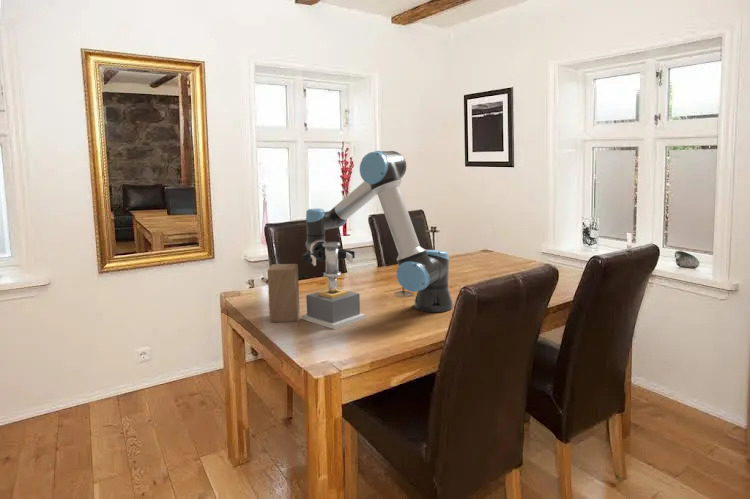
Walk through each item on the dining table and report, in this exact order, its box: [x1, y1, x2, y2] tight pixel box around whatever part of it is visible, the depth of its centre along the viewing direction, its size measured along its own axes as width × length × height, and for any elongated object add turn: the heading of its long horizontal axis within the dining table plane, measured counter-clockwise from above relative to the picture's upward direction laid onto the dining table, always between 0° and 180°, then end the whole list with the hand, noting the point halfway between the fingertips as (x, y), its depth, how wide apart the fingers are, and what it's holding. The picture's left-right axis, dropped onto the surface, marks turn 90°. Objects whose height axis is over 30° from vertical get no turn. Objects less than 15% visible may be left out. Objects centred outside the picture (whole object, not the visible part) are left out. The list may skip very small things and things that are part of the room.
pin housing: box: [301, 288, 367, 330], centre depth 198 cm, size 18×16×10 cm
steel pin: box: [323, 241, 342, 294], centre depth 196 cm, size 6×6×20 cm
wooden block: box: [267, 263, 301, 323], centre depth 199 cm, size 10×10×20 cm
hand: (333, 260), depth 192 cm, fingers open, 13 cm apart
